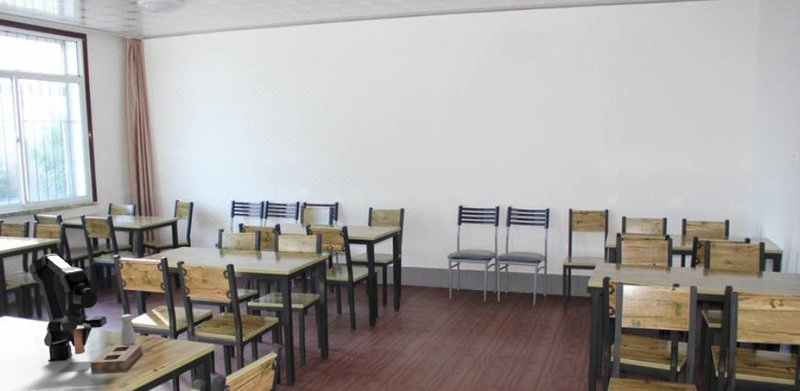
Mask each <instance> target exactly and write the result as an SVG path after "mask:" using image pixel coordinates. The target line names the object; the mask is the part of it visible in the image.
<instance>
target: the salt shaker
mask: <svg viewBox="0 0 800 391" xmlns="http://www.w3.org/2000/svg"><path fill="white" fill-rule="evenodd" d="M132 321H133V315H132V314H128V313H127V314H123V315H121V316H120V322H122V327H121V332H120V341H119V342H120V345H136V342H137V338H136V335H135V330H134V327H133V323H132Z"/></svg>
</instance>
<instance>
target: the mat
mask: <svg viewBox="0 0 800 391" xmlns="http://www.w3.org/2000/svg"><path fill="white" fill-rule="evenodd" d="M92 361H93V360H91V361H89V360H88V361H76V362H75V361H74V362H69V363H67V364H66V365H65V366H64V367H63V368H61V369H59V371H58V372H57V373H72V372H76V373H77V372H87V371H88V370H89V369H91V362H92Z"/></svg>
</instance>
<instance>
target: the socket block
mask: <svg viewBox="0 0 800 391" xmlns="http://www.w3.org/2000/svg"><path fill="white" fill-rule="evenodd" d="M142 350H143V349H142V343H140V344H139V343H138V344H136V343H135V345H122V344H120V345H109V346H107V348H106V349H105V350H103V351H102V352H101V353H100V354H98V355H97V356H96V357H95V358H94V359H93V360H91V361H92V362H91V367H90V372H104V371H105V372H106V371H120V370H123V371H124V370H127V369H128V368H129V366H131V365H132V363H134V361H135V360H136V359H137V358H139V357H140V355H141V354H142V353H143V351H142Z"/></svg>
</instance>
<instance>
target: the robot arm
mask: <svg viewBox="0 0 800 391" xmlns="http://www.w3.org/2000/svg"><path fill="white" fill-rule="evenodd" d="M28 270H29V273H30V275H31V278H32V279H33V280H34V281H35V282H36V283H37V284H39V286H40V290H41V294H42V297H43V301H44V305H45V309H46V312H47V315H48V320H49V322H48V324H47V326H46V334H45V337H44V339H43V341H44V345H45V346H46V347H48V350H49V359H48V361H47V362H48V363H49V362H63V361H67V360H68V359H69V358H71V357H72V356H73V353H72V346H73V347H75V346H74V334H73V330H74V329H76V328H78V326H83V327H82V329H81V330H82V332H83V346H84V347H85V346H86V345H87V342H88V338H89V336H90V333H91V331H92V329H95V328H97V329H98V328H102V327H103V326H105V325H106V324H107V323H108V321H107V320H108V318H107V317H106V316H105V315H101V316H99V315H97V316H94V317H92V318H91V319H90V318H89V319H88V315H87V314H86V309H91V308H93V307H95V305H96V304H97V301H98V297H97V295H96V294H95V292H92V291H91V288H92V285H91V284H92V282H91V281H90V278H89V277H88V275H87V273H86V272H85V271H84V269H82V268H80V267H75V266H74V267H73V266H70V265H69V264H68V263H67V262H65V260H63V259H62V258H61V257H60V256H59V254H58V253H49V254H43V255H42V256H41V257H40V258H38V259H36V260H34V261H33V262H31V263H30V265H29V267H28ZM56 275H57V276H58V277H60V283H61V285H62V286H63V287H64V290H63V291H64V292H66V293H65V296H66V306H67V307H66V308H65V315H64V314H63V313H64V312H63V310H62V306H61V303H60V300H59V299H60V298H59V296H58V292H57V289H56V288H57V287H56V285H55V281H54V279H55V277H56ZM70 343H71V344H70Z"/></svg>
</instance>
